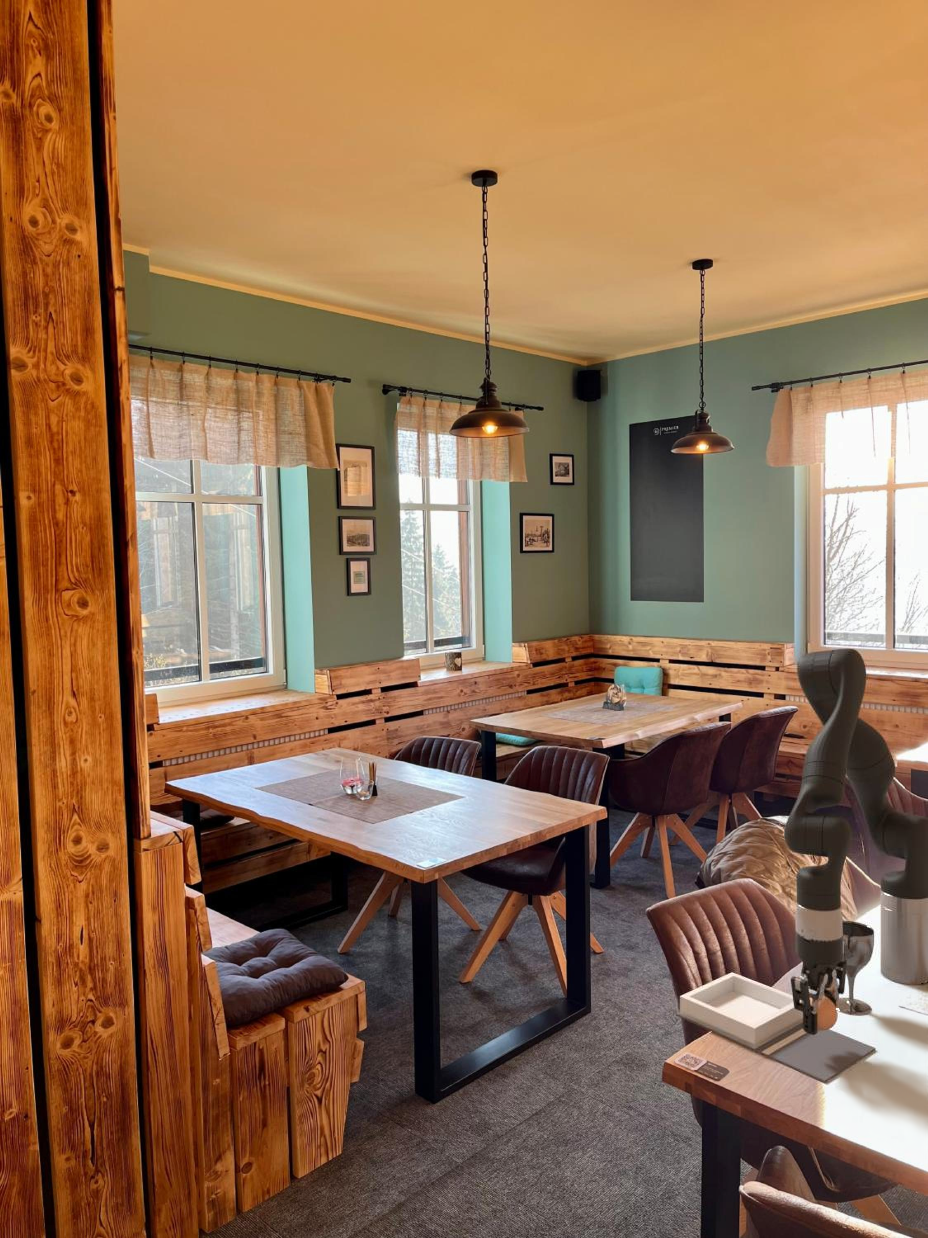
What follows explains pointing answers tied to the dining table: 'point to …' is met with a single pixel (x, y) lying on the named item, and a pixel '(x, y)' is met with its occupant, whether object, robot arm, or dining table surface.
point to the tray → (741, 1009)
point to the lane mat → (811, 1051)
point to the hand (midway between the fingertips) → (820, 1026)
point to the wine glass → (855, 963)
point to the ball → (825, 1014)
